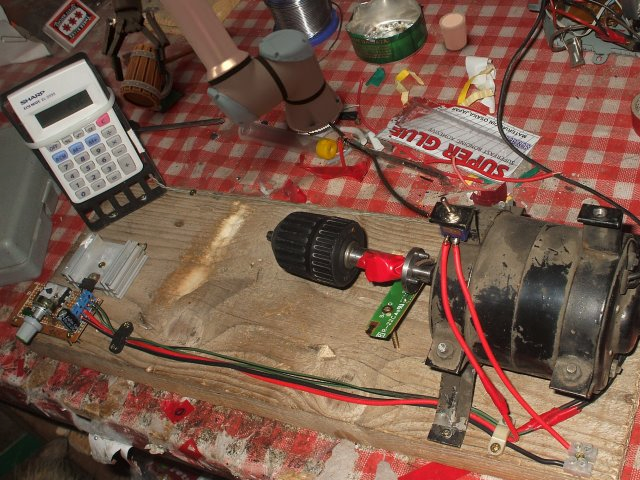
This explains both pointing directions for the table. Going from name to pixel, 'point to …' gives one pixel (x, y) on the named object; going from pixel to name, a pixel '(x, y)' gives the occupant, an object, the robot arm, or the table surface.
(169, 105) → the mat
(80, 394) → the table surface
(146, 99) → the mug
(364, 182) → the table surface
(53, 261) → the table surface
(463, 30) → the pink cylinder
